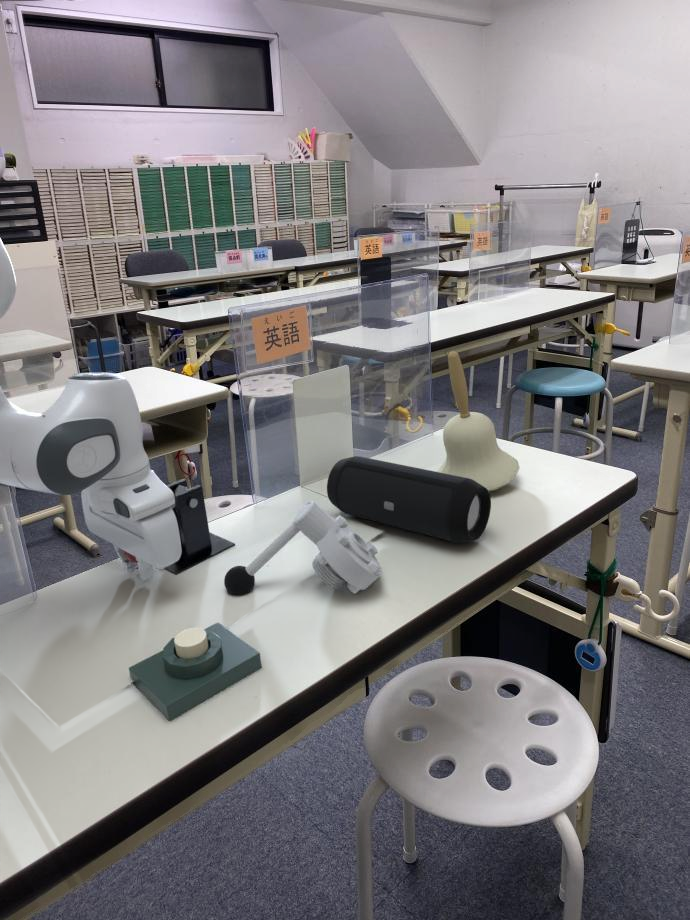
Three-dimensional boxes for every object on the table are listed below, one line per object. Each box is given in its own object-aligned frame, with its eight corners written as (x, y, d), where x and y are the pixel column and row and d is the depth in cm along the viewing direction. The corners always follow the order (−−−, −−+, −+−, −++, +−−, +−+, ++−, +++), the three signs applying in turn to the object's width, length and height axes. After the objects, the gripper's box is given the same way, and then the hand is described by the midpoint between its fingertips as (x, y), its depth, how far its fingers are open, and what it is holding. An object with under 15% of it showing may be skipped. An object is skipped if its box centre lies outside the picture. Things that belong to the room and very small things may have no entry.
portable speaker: (325, 520, 114) (321, 465, 110) (360, 498, 121) (356, 445, 118) (463, 558, 99) (463, 496, 96) (493, 530, 107) (494, 471, 103)
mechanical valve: (390, 582, 89) (308, 507, 86) (295, 668, 92) (212, 599, 89) (383, 550, 99) (309, 481, 96) (297, 628, 102) (222, 564, 99)
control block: (169, 722, 72) (163, 692, 71) (131, 683, 79) (125, 654, 77) (262, 668, 79) (258, 639, 78) (220, 636, 86) (216, 609, 84)
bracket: (176, 580, 99) (163, 507, 95) (147, 564, 104) (132, 493, 100) (236, 550, 107) (226, 480, 102) (205, 536, 112) (194, 469, 108)
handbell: (536, 483, 119) (514, 346, 109) (455, 512, 117) (426, 375, 107) (497, 453, 133) (475, 330, 123) (425, 478, 131) (396, 355, 121)
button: (186, 664, 75) (184, 651, 75) (170, 650, 78) (168, 637, 77) (214, 649, 78) (212, 636, 77) (198, 636, 80) (195, 623, 79)
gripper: (62, 477, 98) (83, 561, 104) (139, 513, 85) (158, 607, 90) (102, 463, 103) (120, 544, 108) (181, 495, 89) (197, 586, 94)
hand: (138, 573), depth 99 cm, fingers closed
